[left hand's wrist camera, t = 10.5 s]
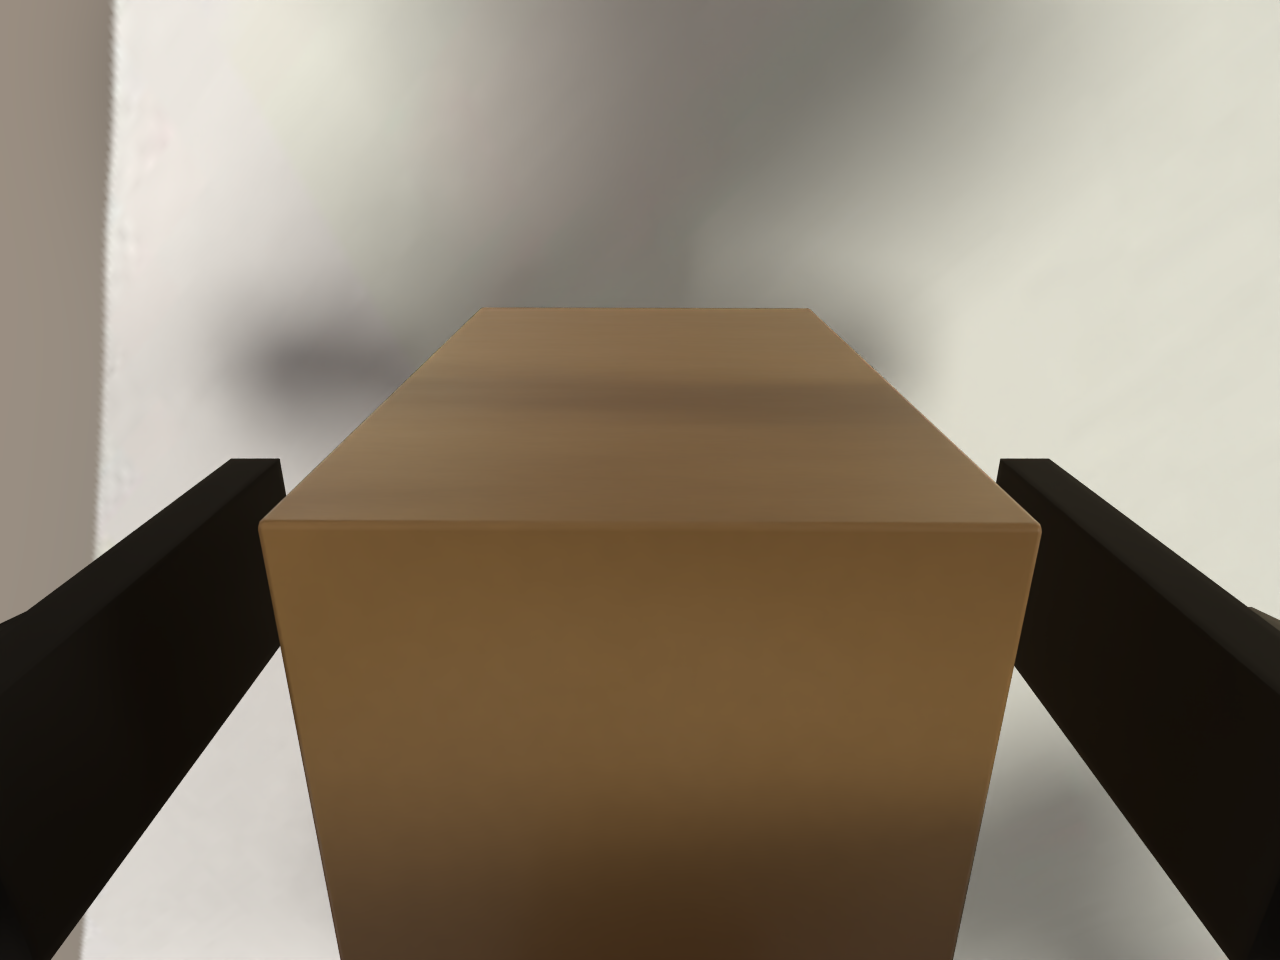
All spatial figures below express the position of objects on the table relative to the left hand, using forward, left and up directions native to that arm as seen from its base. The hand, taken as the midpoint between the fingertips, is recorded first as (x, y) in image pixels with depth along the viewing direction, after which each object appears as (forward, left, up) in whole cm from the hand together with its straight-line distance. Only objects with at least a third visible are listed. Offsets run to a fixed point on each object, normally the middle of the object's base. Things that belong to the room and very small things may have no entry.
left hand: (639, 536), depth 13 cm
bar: (+8, +2, -2) cm, 9 cm away
